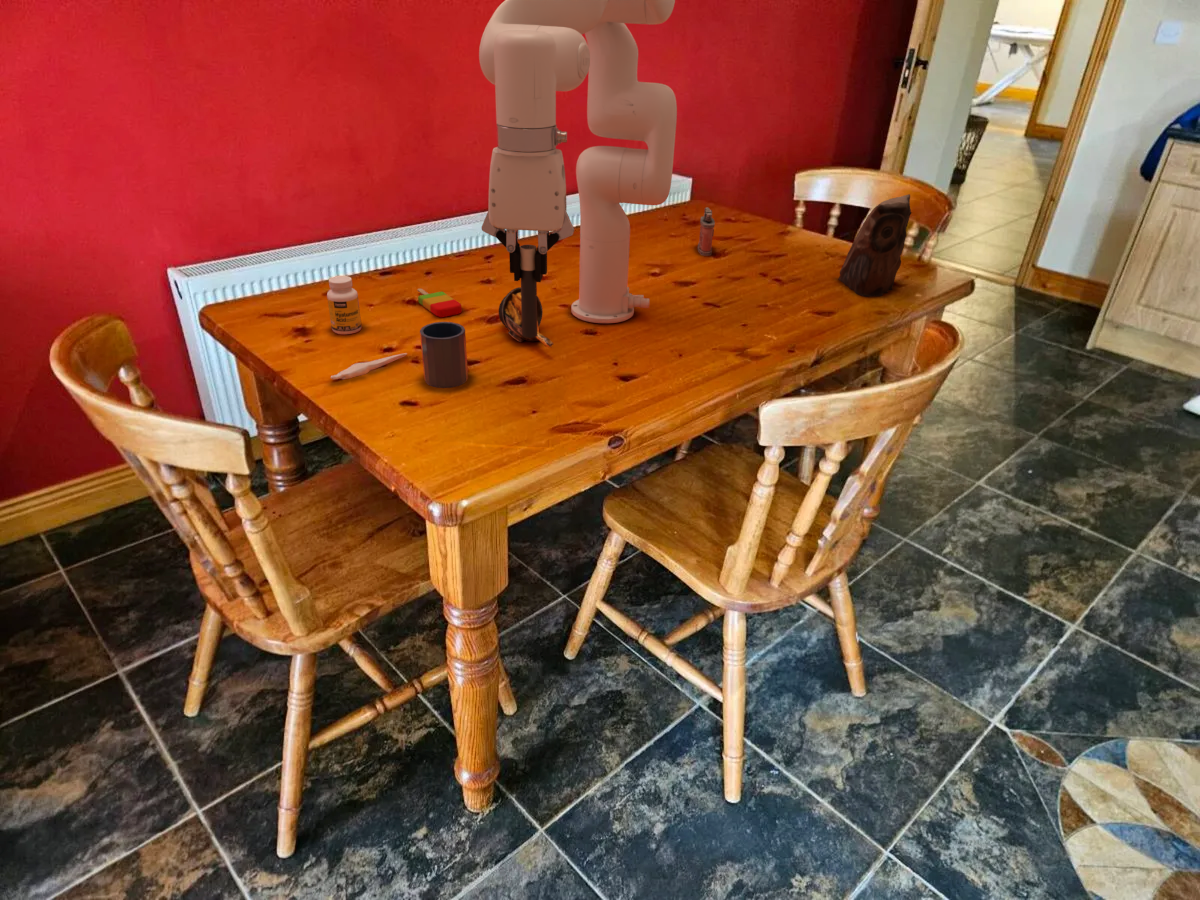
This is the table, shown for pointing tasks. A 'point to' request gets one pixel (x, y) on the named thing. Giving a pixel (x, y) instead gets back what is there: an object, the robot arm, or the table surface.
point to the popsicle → (439, 303)
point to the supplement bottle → (343, 306)
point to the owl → (877, 249)
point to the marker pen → (528, 291)
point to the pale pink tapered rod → (365, 367)
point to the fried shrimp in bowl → (519, 317)
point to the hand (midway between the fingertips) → (528, 277)
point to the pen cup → (444, 354)
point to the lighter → (706, 233)
